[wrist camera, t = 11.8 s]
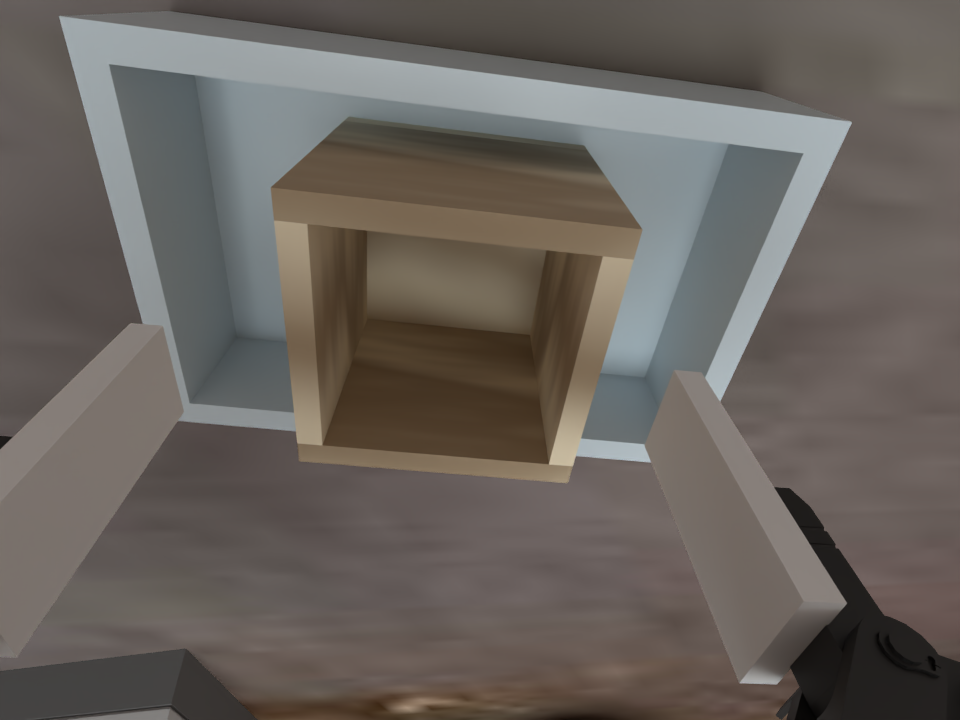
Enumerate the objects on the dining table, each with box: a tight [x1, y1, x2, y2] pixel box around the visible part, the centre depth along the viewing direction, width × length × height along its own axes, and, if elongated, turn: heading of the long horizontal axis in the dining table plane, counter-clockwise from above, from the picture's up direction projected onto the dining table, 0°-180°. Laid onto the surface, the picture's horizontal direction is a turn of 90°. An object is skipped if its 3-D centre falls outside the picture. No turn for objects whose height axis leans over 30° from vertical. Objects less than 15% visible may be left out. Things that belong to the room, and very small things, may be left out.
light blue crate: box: [59, 11, 852, 462], centre depth 21 cm, size 14×22×6 cm, turn 83°
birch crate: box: [271, 117, 643, 483], centre depth 19 cm, size 9×9×9 cm
